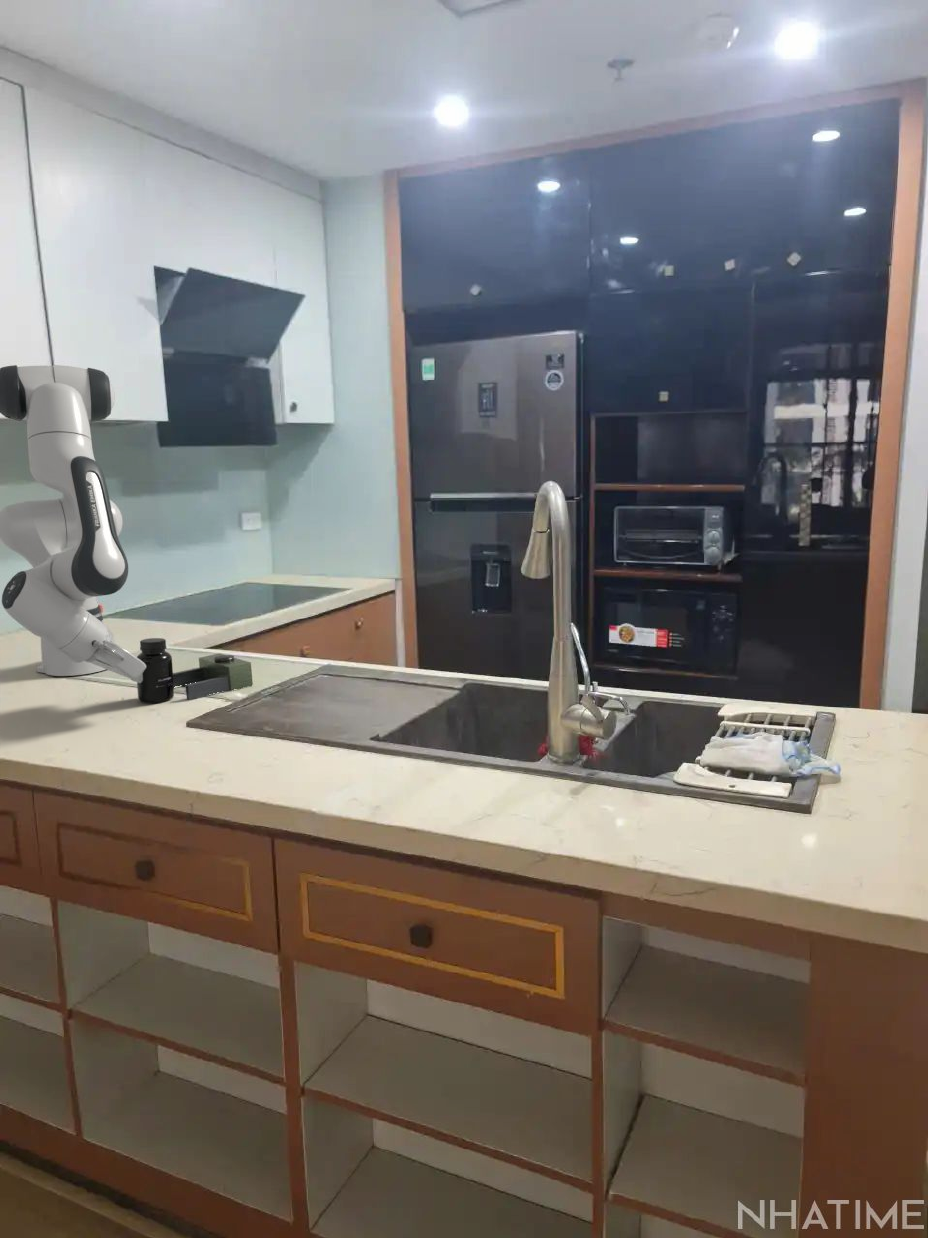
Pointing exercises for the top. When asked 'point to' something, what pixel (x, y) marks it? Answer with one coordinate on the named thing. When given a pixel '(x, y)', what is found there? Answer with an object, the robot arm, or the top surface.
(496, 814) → the top surface
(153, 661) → the supplement bottle
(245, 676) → the chute bracket
